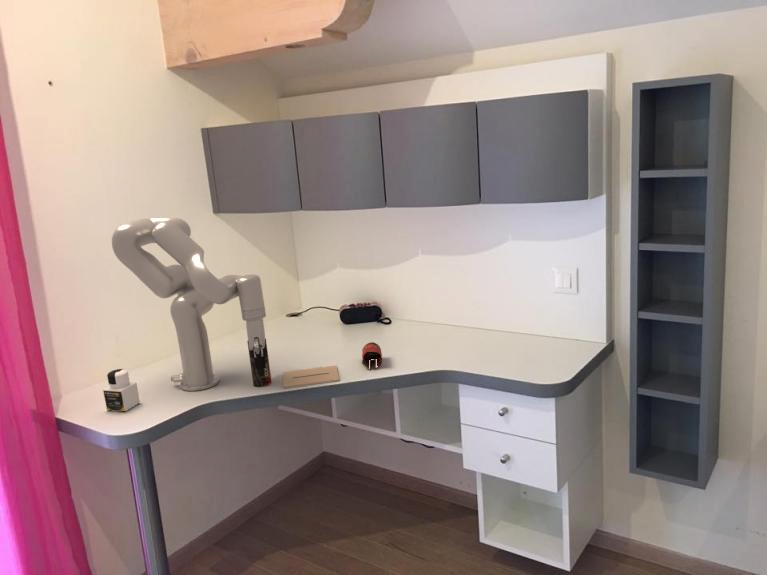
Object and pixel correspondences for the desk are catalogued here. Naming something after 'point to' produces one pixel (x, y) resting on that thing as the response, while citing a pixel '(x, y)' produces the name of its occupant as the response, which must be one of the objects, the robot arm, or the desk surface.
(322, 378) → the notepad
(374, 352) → the beverage can
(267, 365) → the deodorant
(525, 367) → the desk surface
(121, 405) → the medicine bottle
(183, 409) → the desk surface
